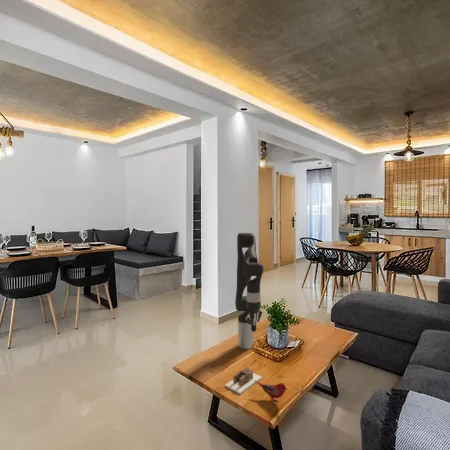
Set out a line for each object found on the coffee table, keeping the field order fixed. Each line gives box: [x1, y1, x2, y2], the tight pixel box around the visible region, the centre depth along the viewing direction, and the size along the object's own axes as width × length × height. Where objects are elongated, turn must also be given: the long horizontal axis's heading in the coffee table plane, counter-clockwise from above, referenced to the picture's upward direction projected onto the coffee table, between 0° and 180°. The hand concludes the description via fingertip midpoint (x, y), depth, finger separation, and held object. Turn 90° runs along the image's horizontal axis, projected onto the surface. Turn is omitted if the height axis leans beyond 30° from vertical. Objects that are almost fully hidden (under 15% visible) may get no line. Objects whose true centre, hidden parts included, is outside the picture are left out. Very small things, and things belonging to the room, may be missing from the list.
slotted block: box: [232, 367, 254, 387], centre depth 161 cm, size 10×5×4 cm, turn 138°
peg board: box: [224, 372, 263, 395], centre depth 161 cm, size 18×10×4 cm, turn 137°
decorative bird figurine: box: [255, 381, 288, 402], centre depth 147 cm, size 3×18×10 cm, turn 53°
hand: (253, 330), depth 166 cm, fingers closed
